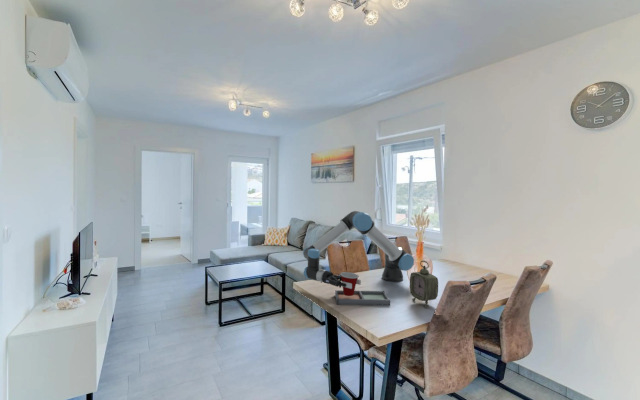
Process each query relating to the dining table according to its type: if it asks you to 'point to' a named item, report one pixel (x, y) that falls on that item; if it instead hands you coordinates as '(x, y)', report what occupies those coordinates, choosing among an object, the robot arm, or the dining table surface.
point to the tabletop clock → (423, 285)
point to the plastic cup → (351, 279)
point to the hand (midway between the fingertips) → (356, 284)
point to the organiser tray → (362, 298)
